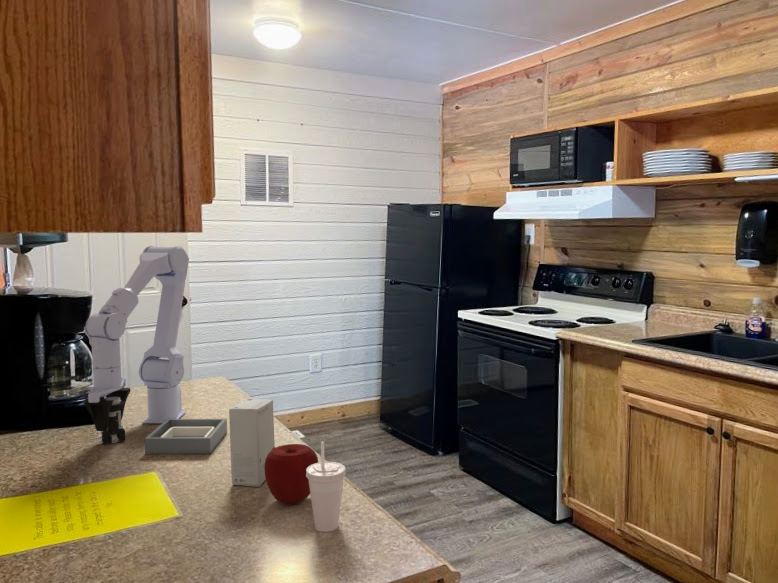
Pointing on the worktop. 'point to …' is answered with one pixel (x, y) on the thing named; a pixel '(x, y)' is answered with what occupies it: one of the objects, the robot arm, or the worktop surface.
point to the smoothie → (326, 492)
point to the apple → (289, 472)
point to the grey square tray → (185, 437)
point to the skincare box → (250, 440)
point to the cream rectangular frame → (188, 431)
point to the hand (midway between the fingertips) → (109, 425)
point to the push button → (113, 423)
